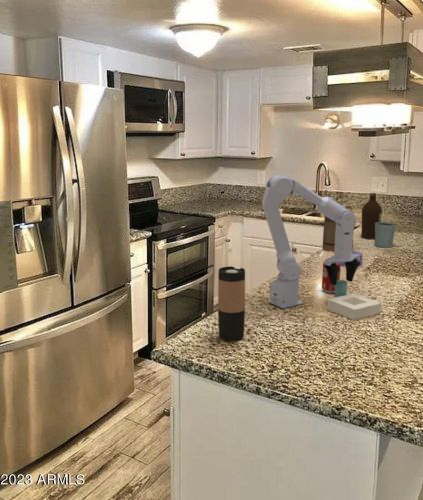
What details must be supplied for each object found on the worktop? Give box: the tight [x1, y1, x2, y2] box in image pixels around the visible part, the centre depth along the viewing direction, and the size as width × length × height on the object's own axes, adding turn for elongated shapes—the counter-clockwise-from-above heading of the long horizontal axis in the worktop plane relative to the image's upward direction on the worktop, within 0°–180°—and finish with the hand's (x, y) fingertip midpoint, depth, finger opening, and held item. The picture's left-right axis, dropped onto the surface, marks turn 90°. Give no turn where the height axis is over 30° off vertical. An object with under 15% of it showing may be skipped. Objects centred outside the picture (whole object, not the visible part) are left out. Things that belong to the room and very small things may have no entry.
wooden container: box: [322, 215, 355, 253], centre depth 253 cm, size 15×15×22 cm
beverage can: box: [321, 260, 342, 294], centre depth 186 cm, size 6×6×12 cm
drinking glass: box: [374, 221, 397, 249], centre depth 260 cm, size 10×10×12 cm
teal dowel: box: [333, 279, 348, 298], centre depth 175 cm, size 4×4×7 cm
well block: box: [326, 293, 382, 321], centre depth 165 cm, size 12×12×4 cm
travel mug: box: [217, 265, 246, 342], centre depth 143 cm, size 8×8×20 cm
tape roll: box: [340, 250, 363, 268], centre depth 226 cm, size 12×12×5 cm
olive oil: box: [360, 192, 383, 240], centre depth 280 cm, size 11×11×25 cm
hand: (341, 282), depth 175 cm, fingers open, 7 cm apart
